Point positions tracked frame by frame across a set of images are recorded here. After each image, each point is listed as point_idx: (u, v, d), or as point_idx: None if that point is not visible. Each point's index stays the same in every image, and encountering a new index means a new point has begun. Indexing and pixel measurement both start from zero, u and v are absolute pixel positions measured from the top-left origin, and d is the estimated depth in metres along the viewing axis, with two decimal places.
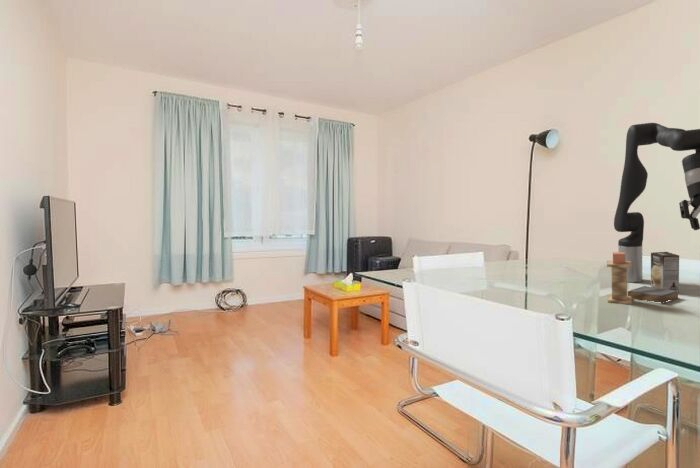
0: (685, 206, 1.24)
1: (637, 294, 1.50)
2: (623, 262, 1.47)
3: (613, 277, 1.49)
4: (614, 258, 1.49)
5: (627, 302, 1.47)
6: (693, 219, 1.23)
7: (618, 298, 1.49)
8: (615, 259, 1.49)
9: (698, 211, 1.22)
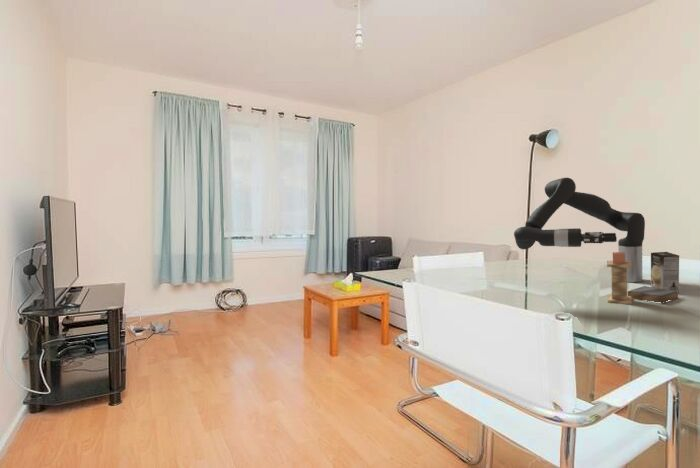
0: None
1: (637, 294, 1.50)
2: (623, 262, 1.47)
3: (613, 277, 1.49)
4: (613, 258, 1.49)
5: (627, 302, 1.47)
6: (605, 237, 1.47)
7: (618, 298, 1.49)
8: (615, 259, 1.49)
9: None
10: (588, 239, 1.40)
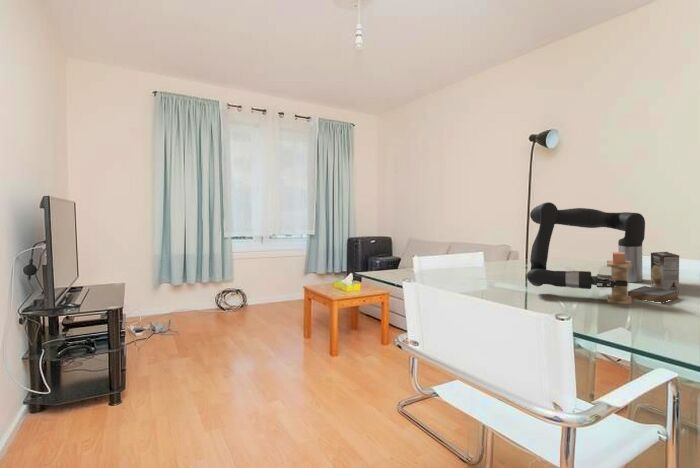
0: None
1: (637, 294, 1.50)
2: (623, 262, 1.47)
3: (613, 277, 1.49)
4: (613, 258, 1.49)
5: (627, 302, 1.47)
6: None
7: (618, 298, 1.49)
8: (615, 259, 1.49)
9: None
10: (601, 284, 1.49)
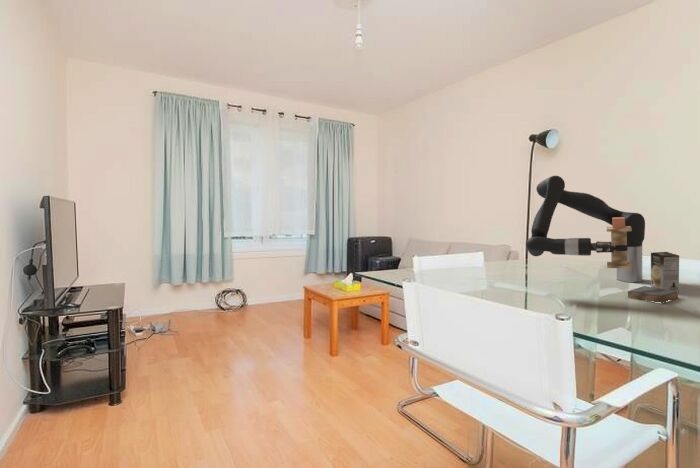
0: None
1: (637, 294, 1.50)
2: (623, 226, 1.46)
3: (613, 242, 1.48)
4: (613, 223, 1.47)
5: (627, 267, 1.45)
6: None
7: (618, 263, 1.48)
8: (614, 224, 1.47)
9: None
10: (601, 249, 1.47)
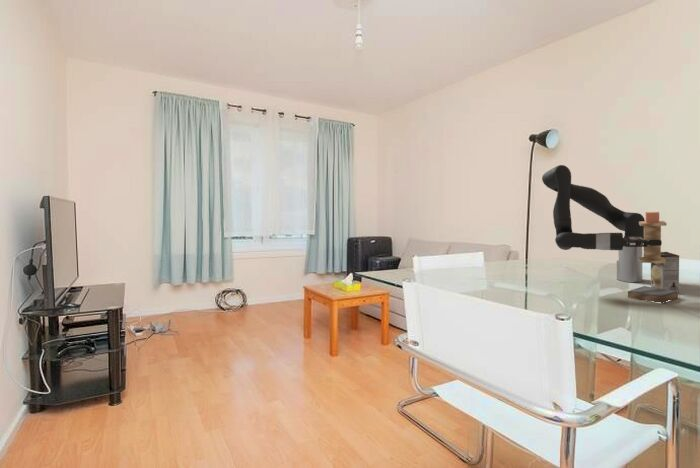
0: None
1: (637, 294, 1.50)
2: (657, 221, 1.45)
3: (646, 237, 1.47)
4: (647, 217, 1.47)
5: (661, 261, 1.45)
6: None
7: (651, 258, 1.47)
8: (648, 218, 1.47)
9: None
10: (634, 243, 1.47)
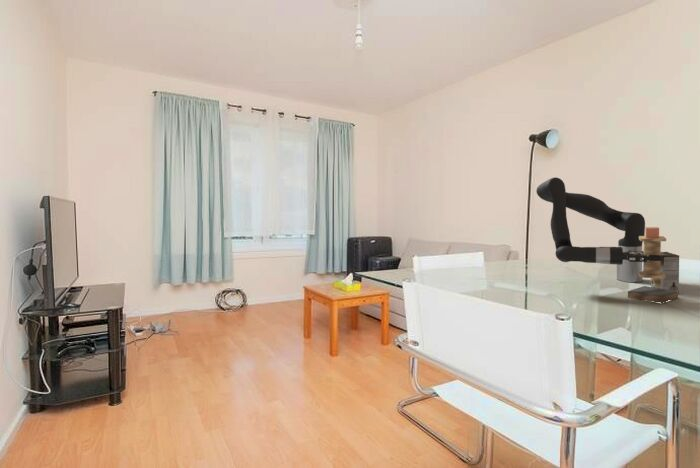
0: None
1: (637, 294, 1.50)
2: (657, 236, 1.46)
3: (646, 252, 1.48)
4: (647, 232, 1.47)
5: (660, 277, 1.45)
6: None
7: (650, 273, 1.48)
8: (648, 234, 1.47)
9: None
10: (634, 258, 1.47)
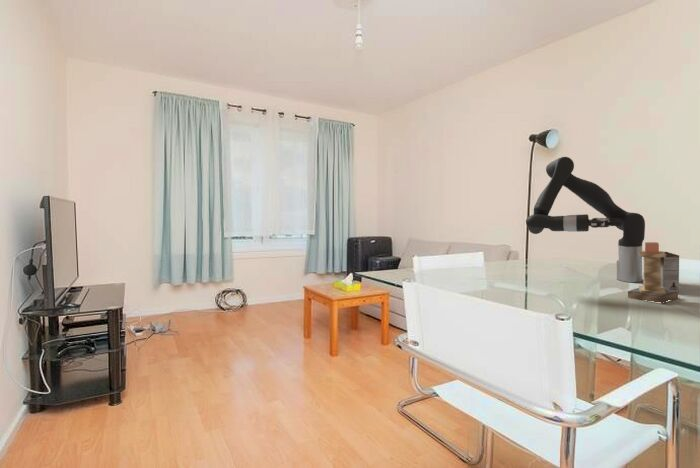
0: None
1: (637, 294, 1.50)
2: (657, 252, 1.47)
3: (646, 267, 1.49)
4: (647, 248, 1.48)
5: (661, 292, 1.46)
6: None
7: (651, 288, 1.49)
8: (648, 249, 1.48)
9: None
10: (595, 223, 1.53)
